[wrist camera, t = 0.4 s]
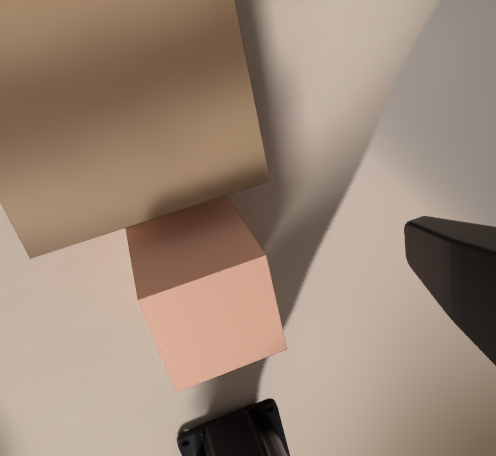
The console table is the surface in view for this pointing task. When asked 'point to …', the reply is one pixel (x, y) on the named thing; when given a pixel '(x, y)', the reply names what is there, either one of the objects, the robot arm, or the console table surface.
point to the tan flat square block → (120, 114)
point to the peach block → (205, 292)
